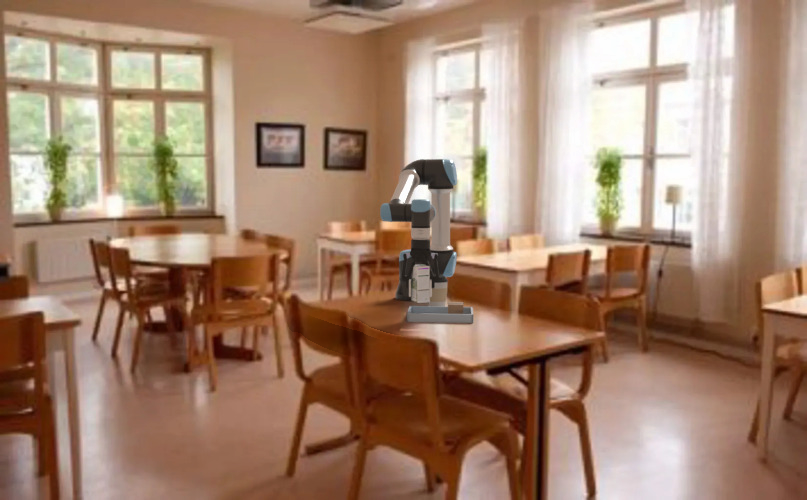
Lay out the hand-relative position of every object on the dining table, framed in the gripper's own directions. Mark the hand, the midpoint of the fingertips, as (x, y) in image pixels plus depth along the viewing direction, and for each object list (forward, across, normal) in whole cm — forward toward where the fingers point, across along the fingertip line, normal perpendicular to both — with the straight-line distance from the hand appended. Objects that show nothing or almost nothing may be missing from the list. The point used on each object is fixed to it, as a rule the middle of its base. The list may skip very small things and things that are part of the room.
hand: (420, 296), depth 268 cm
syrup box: (+2, 0, 0) cm, 2 cm away
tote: (+9, +8, 0) cm, 12 cm away
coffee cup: (+10, +6, +21) cm, 24 cm away
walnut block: (+9, +14, 0) cm, 16 cm away
